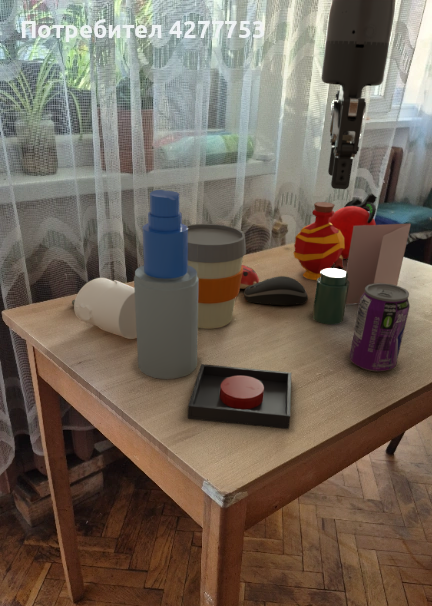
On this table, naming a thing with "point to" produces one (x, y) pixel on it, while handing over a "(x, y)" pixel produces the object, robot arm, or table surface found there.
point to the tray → (266, 414)
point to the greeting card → (375, 257)
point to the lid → (241, 392)
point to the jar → (331, 296)
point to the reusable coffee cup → (216, 270)
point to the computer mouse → (277, 292)
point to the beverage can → (379, 327)
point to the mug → (108, 306)
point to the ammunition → (339, 263)
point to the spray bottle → (166, 293)
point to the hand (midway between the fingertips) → (337, 181)
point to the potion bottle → (319, 242)
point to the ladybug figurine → (248, 277)
